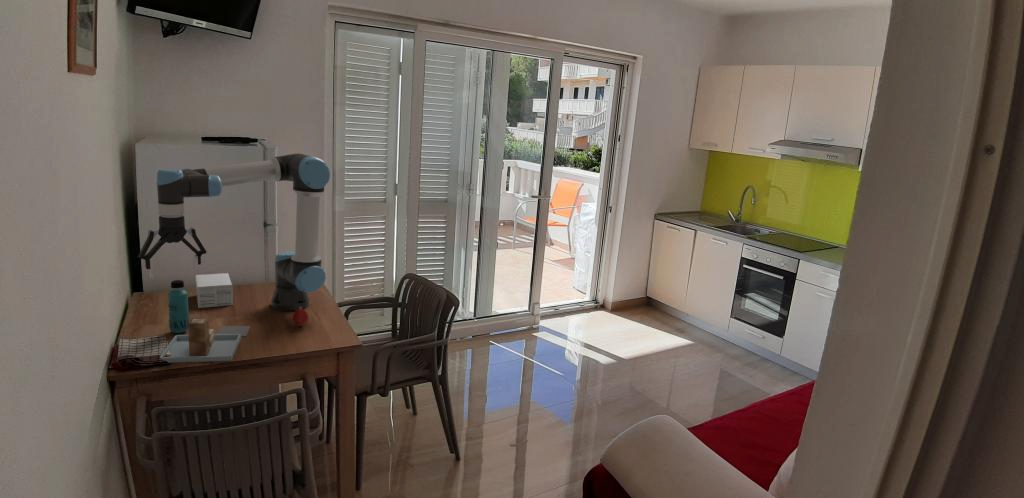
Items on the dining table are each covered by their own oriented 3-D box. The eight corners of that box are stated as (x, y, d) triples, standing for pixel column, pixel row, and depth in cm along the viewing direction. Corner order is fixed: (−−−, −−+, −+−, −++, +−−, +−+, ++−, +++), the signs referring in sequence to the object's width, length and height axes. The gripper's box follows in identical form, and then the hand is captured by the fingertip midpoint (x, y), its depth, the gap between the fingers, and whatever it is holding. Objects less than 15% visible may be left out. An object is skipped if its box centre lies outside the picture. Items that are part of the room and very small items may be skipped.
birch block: (213, 342, 210) (213, 329, 209) (211, 347, 205) (210, 333, 204) (199, 342, 209) (199, 329, 207) (196, 347, 204) (196, 334, 203)
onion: (293, 329, 227) (293, 310, 225) (291, 324, 232) (291, 305, 230) (309, 328, 230) (309, 308, 228) (307, 323, 235) (307, 304, 233)
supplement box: (195, 295, 255) (194, 274, 253) (229, 293, 261) (228, 272, 259) (197, 308, 241) (196, 286, 239) (233, 305, 247) (232, 284, 245)
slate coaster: (250, 327, 226) (250, 325, 226) (246, 337, 217) (246, 335, 217) (221, 327, 224) (221, 326, 223) (216, 338, 214) (216, 336, 214)
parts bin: (241, 338, 215) (241, 333, 215) (231, 361, 197) (231, 356, 197) (175, 340, 210) (175, 335, 209) (159, 363, 191) (158, 358, 191)
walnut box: (209, 351, 202) (208, 317, 200) (206, 357, 198) (204, 323, 195) (193, 351, 201) (191, 318, 198) (189, 357, 197) (187, 323, 194)
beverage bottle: (174, 329, 218) (171, 277, 214) (193, 330, 219) (190, 278, 214) (165, 336, 212) (162, 283, 207) (185, 337, 213) (182, 284, 208)
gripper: (208, 211, 210) (210, 269, 215) (126, 215, 194) (130, 277, 199) (214, 215, 205) (216, 274, 210) (130, 219, 189) (134, 283, 194)
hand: (174, 275), depth 205 cm, fingers open, 13 cm apart
